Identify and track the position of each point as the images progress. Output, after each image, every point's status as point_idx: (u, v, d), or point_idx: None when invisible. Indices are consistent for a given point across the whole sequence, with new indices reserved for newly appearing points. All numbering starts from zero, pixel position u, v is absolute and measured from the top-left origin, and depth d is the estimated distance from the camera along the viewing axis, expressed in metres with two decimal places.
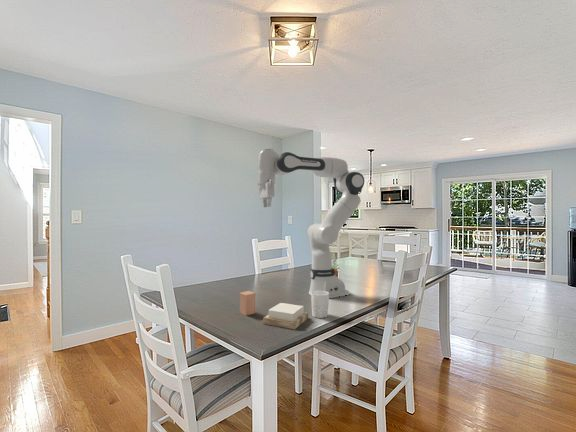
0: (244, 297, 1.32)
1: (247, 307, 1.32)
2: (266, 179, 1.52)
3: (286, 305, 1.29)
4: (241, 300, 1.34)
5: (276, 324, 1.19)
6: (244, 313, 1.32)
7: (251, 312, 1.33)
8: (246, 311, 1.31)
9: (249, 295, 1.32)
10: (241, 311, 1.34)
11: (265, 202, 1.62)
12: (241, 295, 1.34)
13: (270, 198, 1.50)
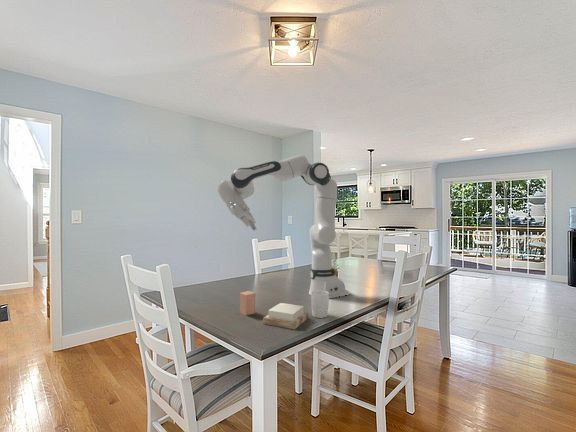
0: (244, 297, 1.32)
1: (247, 307, 1.32)
2: None
3: (286, 305, 1.29)
4: (241, 300, 1.34)
5: (276, 324, 1.19)
6: (244, 313, 1.32)
7: (251, 312, 1.33)
8: (246, 311, 1.31)
9: (249, 295, 1.32)
10: (241, 311, 1.34)
11: (253, 225, 1.54)
12: (241, 295, 1.34)
13: (243, 217, 1.43)
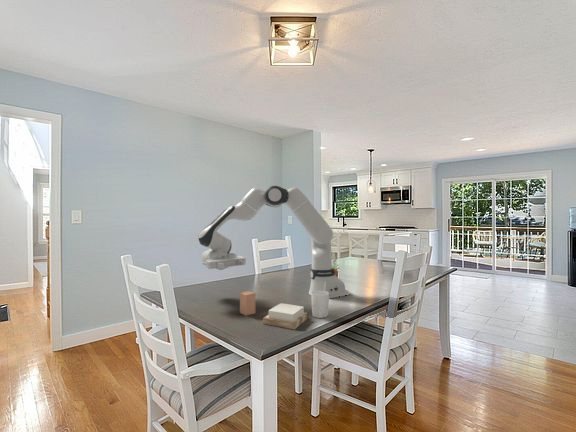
0: (244, 297, 1.32)
1: (247, 307, 1.32)
2: None
3: (286, 305, 1.29)
4: (241, 300, 1.34)
5: (276, 324, 1.19)
6: (244, 313, 1.32)
7: (251, 312, 1.33)
8: (246, 311, 1.31)
9: (249, 295, 1.32)
10: (241, 311, 1.34)
11: None
12: (241, 295, 1.34)
13: (217, 264, 1.43)
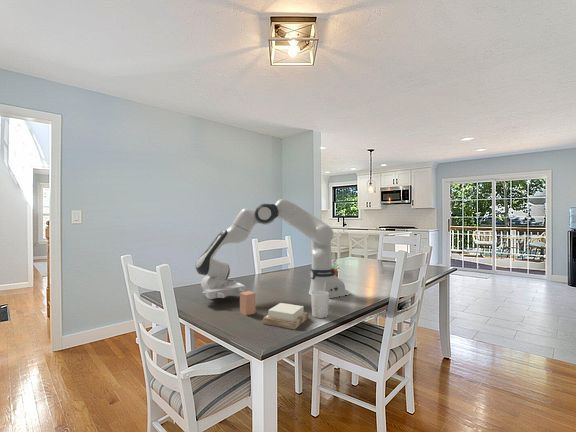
0: (244, 297, 1.32)
1: (247, 307, 1.32)
2: None
3: (286, 305, 1.29)
4: (241, 300, 1.34)
5: (276, 324, 1.19)
6: (244, 313, 1.32)
7: (251, 312, 1.33)
8: (246, 311, 1.31)
9: (249, 295, 1.32)
10: (241, 311, 1.34)
11: None
12: (241, 295, 1.34)
13: (216, 293, 1.43)
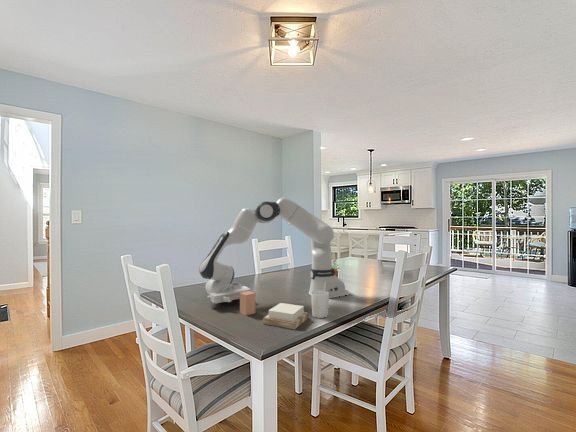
0: (244, 297, 1.32)
1: (247, 307, 1.32)
2: None
3: (286, 305, 1.29)
4: (241, 300, 1.34)
5: (276, 324, 1.19)
6: (244, 313, 1.32)
7: (251, 312, 1.33)
8: (246, 311, 1.31)
9: (249, 295, 1.32)
10: (241, 311, 1.34)
11: None
12: (241, 295, 1.34)
13: (222, 298, 1.39)
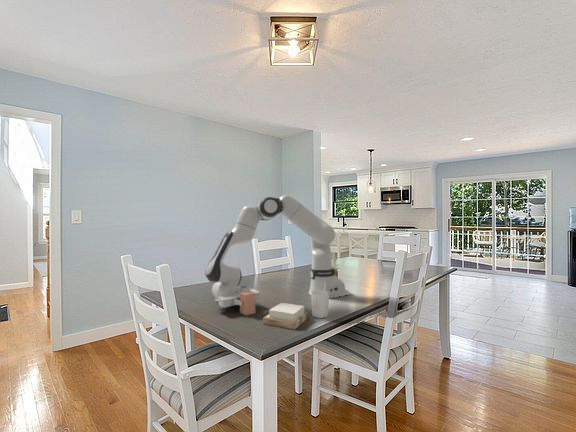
0: (244, 297, 1.32)
1: (247, 307, 1.32)
2: None
3: (287, 304, 1.29)
4: None
5: (276, 324, 1.19)
6: (244, 313, 1.32)
7: (251, 312, 1.33)
8: (246, 311, 1.31)
9: (249, 295, 1.32)
10: (241, 311, 1.34)
11: None
12: (241, 295, 1.34)
13: (234, 301, 1.34)
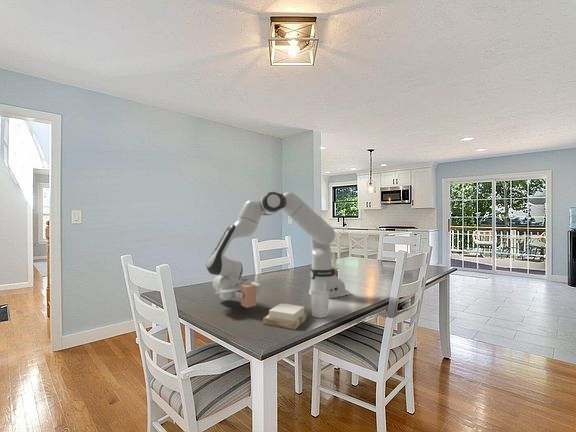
0: (245, 289, 1.32)
1: (248, 299, 1.32)
2: None
3: (287, 305, 1.29)
4: (241, 292, 1.34)
5: (276, 324, 1.19)
6: (245, 305, 1.32)
7: (252, 304, 1.33)
8: (247, 303, 1.31)
9: (250, 287, 1.32)
10: (242, 304, 1.34)
11: None
12: (242, 287, 1.34)
13: (234, 293, 1.34)
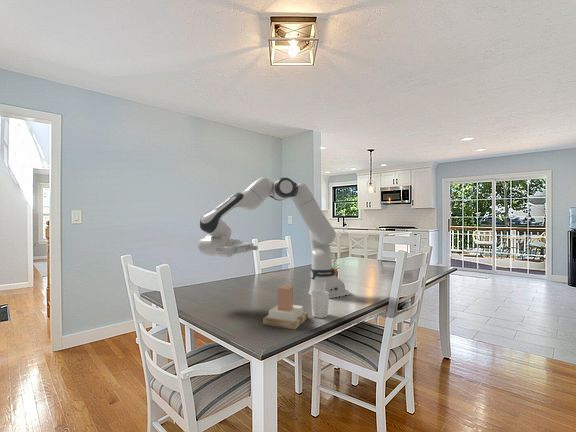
0: (287, 291, 1.22)
1: (290, 301, 1.22)
2: None
3: None
4: (280, 295, 1.23)
5: (276, 324, 1.19)
6: (287, 309, 1.22)
7: (291, 306, 1.24)
8: (289, 306, 1.22)
9: (291, 288, 1.23)
10: (281, 308, 1.22)
11: (253, 247, 1.45)
12: (281, 290, 1.22)
13: (236, 249, 1.35)
